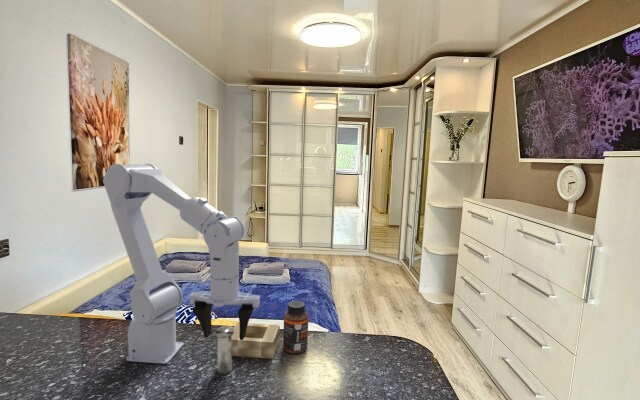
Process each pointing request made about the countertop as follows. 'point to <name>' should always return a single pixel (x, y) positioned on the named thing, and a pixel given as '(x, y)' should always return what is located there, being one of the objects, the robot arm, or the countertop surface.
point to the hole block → (256, 340)
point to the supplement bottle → (295, 328)
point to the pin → (224, 348)
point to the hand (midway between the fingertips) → (225, 336)
